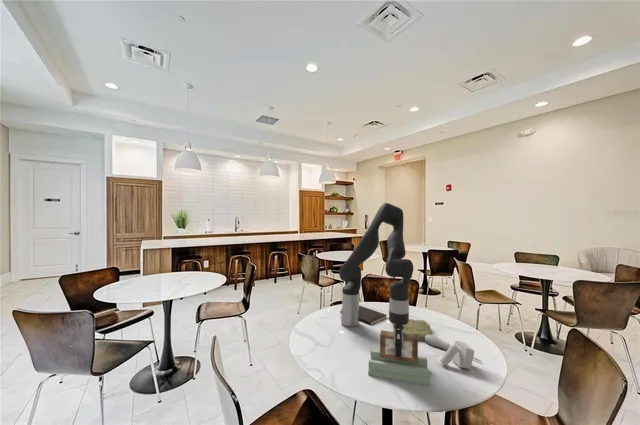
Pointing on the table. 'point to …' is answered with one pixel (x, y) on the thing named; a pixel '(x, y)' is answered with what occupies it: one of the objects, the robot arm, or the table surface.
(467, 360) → the wall hook
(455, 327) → the table surface
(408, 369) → the pale green channel holder
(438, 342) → the screwdriver
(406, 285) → the robot arm
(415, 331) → the decorative tile
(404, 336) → the wooden picture frame
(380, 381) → the table surface
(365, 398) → the table surface
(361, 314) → the hardcover book
